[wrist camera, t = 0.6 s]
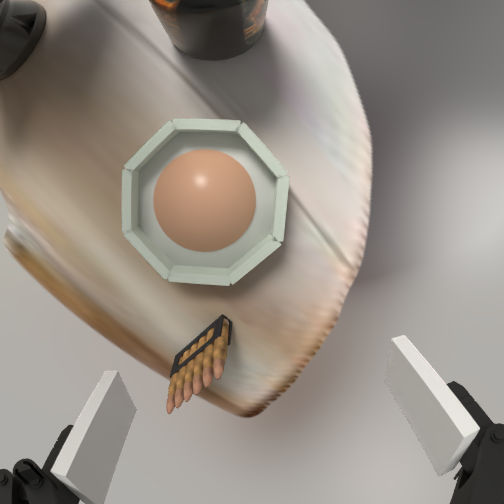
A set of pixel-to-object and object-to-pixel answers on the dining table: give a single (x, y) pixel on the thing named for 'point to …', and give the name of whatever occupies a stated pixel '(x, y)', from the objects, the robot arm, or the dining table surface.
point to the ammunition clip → (199, 362)
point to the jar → (212, 25)
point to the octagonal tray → (204, 201)
